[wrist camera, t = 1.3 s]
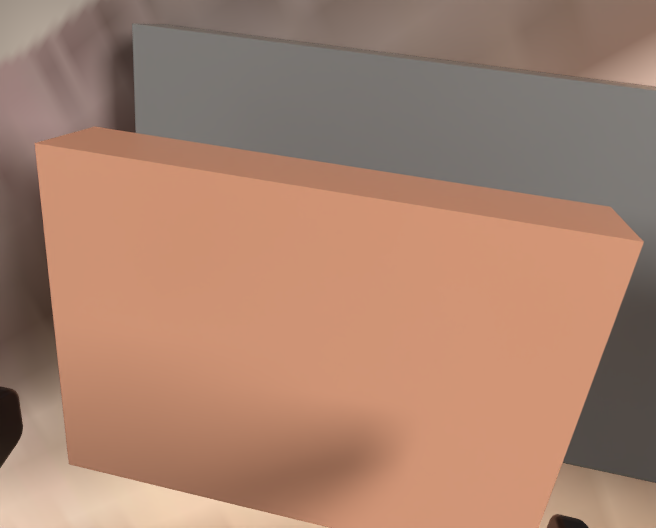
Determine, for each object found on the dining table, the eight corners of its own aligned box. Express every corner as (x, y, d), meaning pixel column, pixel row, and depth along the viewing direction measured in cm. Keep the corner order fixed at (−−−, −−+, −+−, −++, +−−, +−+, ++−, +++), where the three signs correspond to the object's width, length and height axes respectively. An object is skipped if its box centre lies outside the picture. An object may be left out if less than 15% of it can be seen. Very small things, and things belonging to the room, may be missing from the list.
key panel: (1006, 518, 19) (1068, 571, 17) (167, 344, 22) (143, 372, 21) (1302, 168, 14) (1433, 190, 12) (164, 24, 18) (132, 23, 16)
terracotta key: (505, 462, 15) (521, 574, 12) (139, 383, 17) (69, 464, 14) (591, 187, 12) (643, 242, 9) (129, 116, 14) (34, 143, 10)
